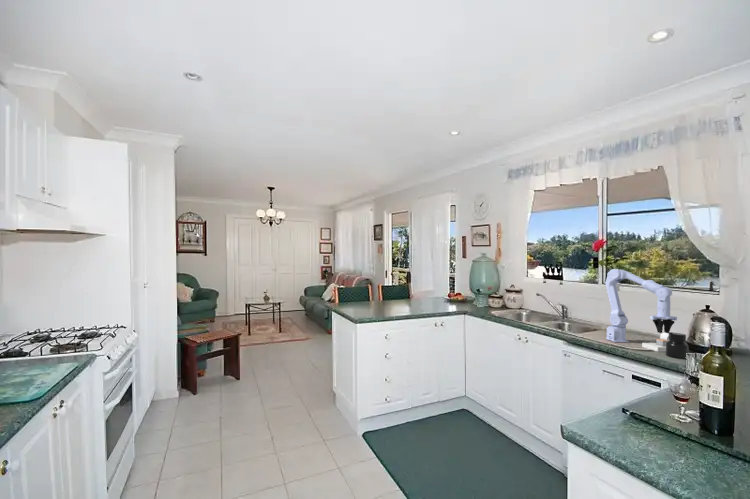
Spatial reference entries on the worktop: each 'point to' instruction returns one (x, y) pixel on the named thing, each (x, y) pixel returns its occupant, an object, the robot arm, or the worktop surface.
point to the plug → (661, 342)
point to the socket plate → (654, 347)
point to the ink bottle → (677, 346)
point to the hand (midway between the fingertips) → (663, 332)
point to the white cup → (664, 336)
